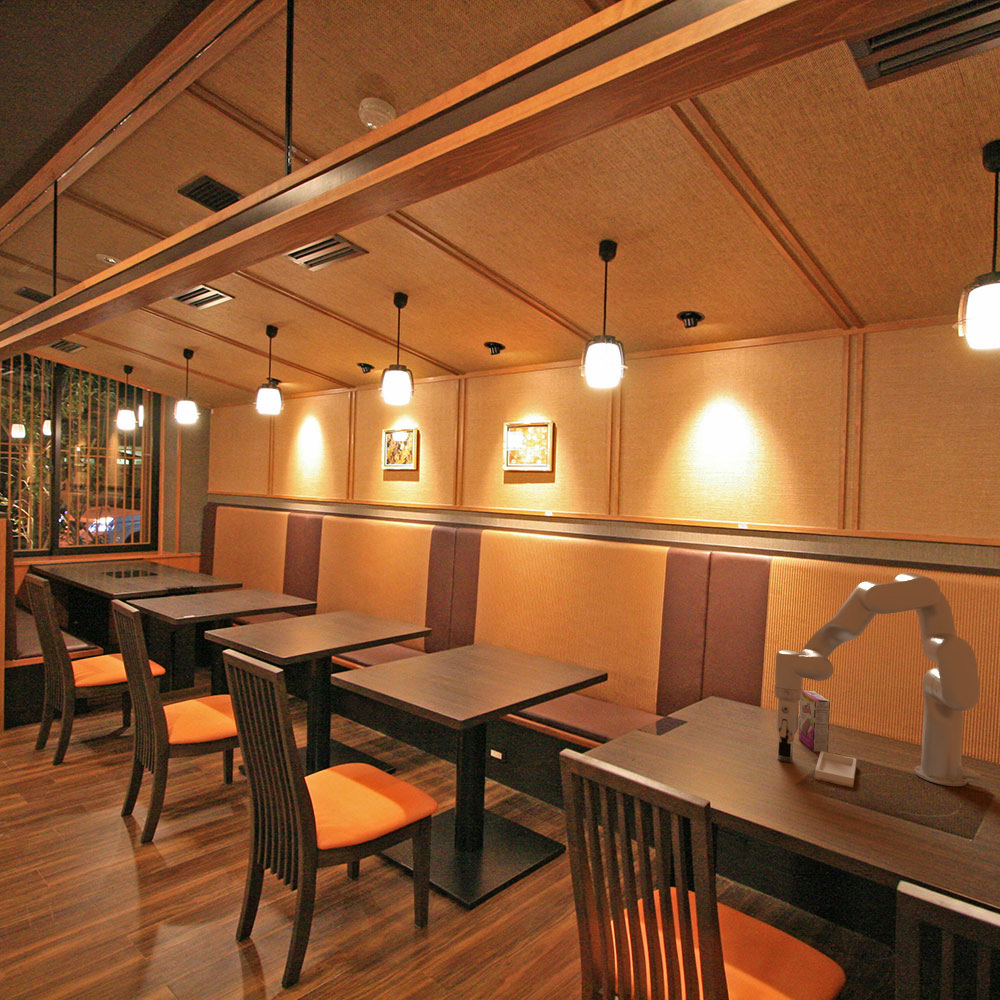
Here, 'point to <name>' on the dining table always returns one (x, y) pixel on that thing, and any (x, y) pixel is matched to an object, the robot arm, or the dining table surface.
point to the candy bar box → (814, 721)
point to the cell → (789, 759)
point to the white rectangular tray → (836, 769)
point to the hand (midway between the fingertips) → (785, 752)
